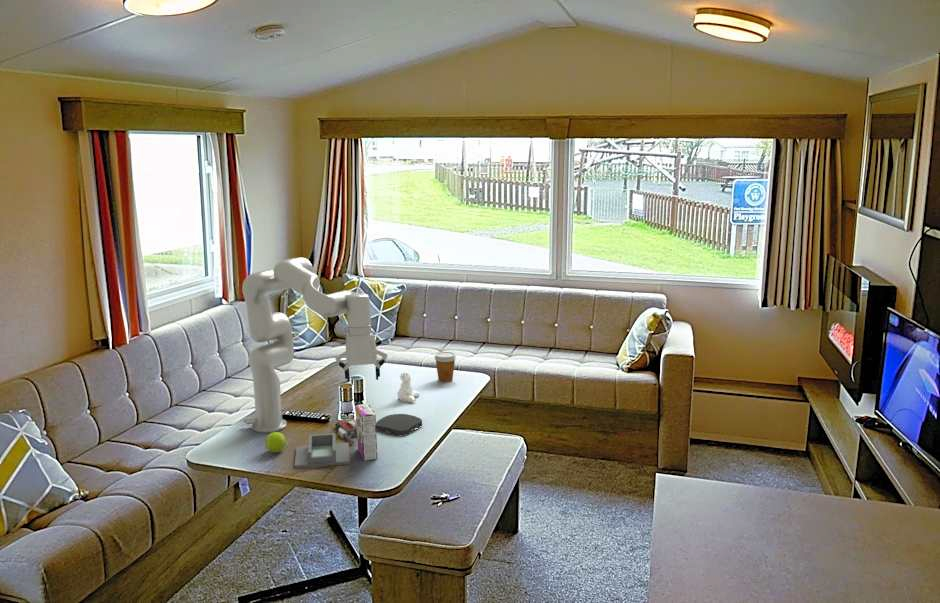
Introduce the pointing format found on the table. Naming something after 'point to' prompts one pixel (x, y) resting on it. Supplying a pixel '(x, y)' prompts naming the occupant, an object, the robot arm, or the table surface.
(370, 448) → the candy bar box
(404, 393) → the sitting furry creature
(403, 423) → the media streaming box
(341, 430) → the walkie-talkie
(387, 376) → the table surface
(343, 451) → the dock
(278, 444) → the tennis ball
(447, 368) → the disposable coffee cup
